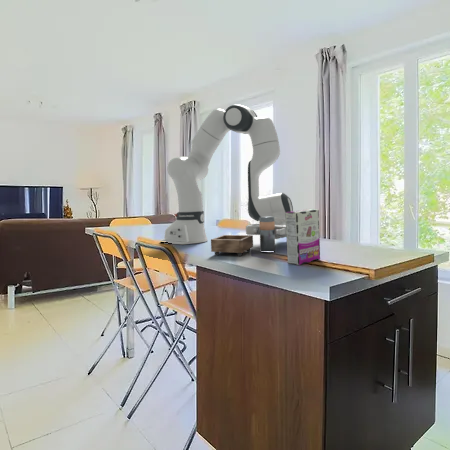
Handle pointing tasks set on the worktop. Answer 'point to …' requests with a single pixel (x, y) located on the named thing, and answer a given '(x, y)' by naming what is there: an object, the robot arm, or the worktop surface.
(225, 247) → the caster cart
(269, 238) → the slate tin
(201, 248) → the worktop surface
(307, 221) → the candy bar box
